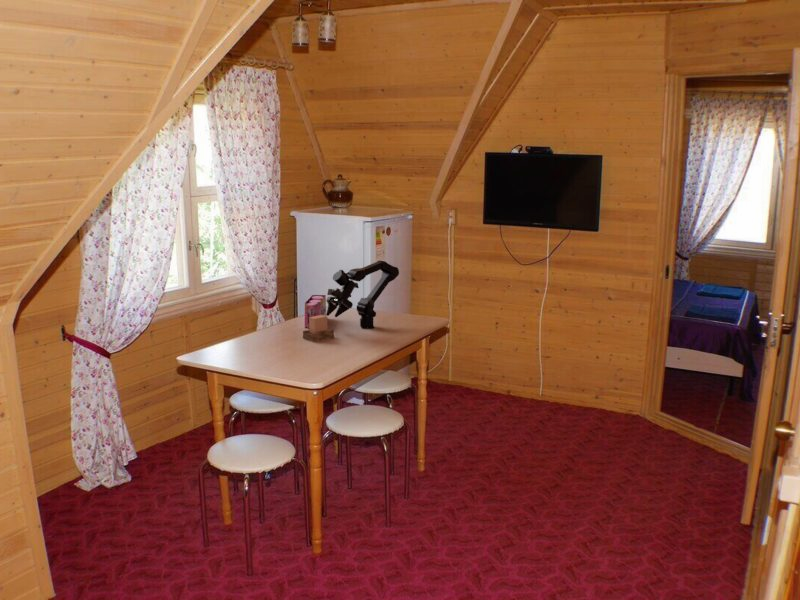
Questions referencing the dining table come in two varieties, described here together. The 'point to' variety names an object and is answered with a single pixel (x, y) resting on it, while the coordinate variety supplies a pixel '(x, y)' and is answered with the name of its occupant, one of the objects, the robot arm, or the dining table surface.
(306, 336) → the walnut rack
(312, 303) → the gum box
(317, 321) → the terracotta block
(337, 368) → the dining table surface
